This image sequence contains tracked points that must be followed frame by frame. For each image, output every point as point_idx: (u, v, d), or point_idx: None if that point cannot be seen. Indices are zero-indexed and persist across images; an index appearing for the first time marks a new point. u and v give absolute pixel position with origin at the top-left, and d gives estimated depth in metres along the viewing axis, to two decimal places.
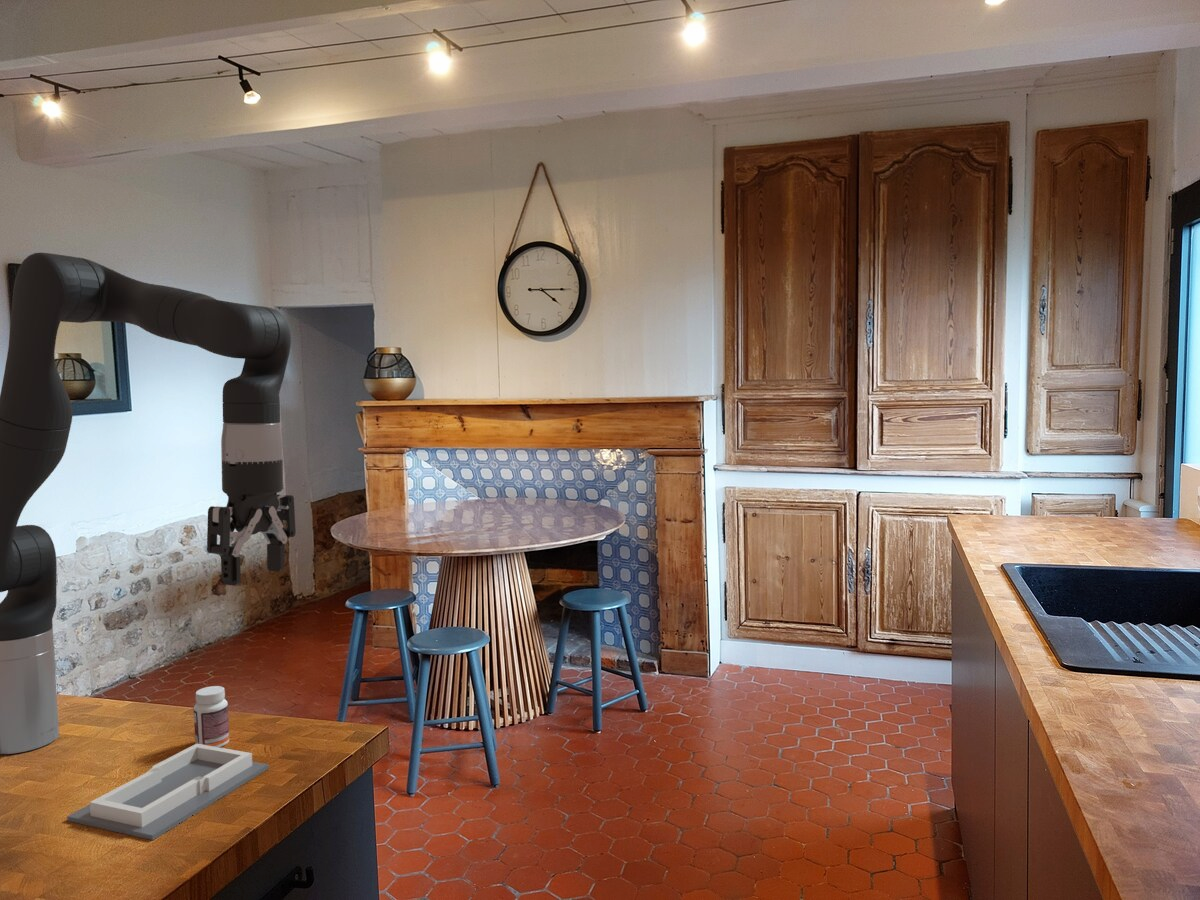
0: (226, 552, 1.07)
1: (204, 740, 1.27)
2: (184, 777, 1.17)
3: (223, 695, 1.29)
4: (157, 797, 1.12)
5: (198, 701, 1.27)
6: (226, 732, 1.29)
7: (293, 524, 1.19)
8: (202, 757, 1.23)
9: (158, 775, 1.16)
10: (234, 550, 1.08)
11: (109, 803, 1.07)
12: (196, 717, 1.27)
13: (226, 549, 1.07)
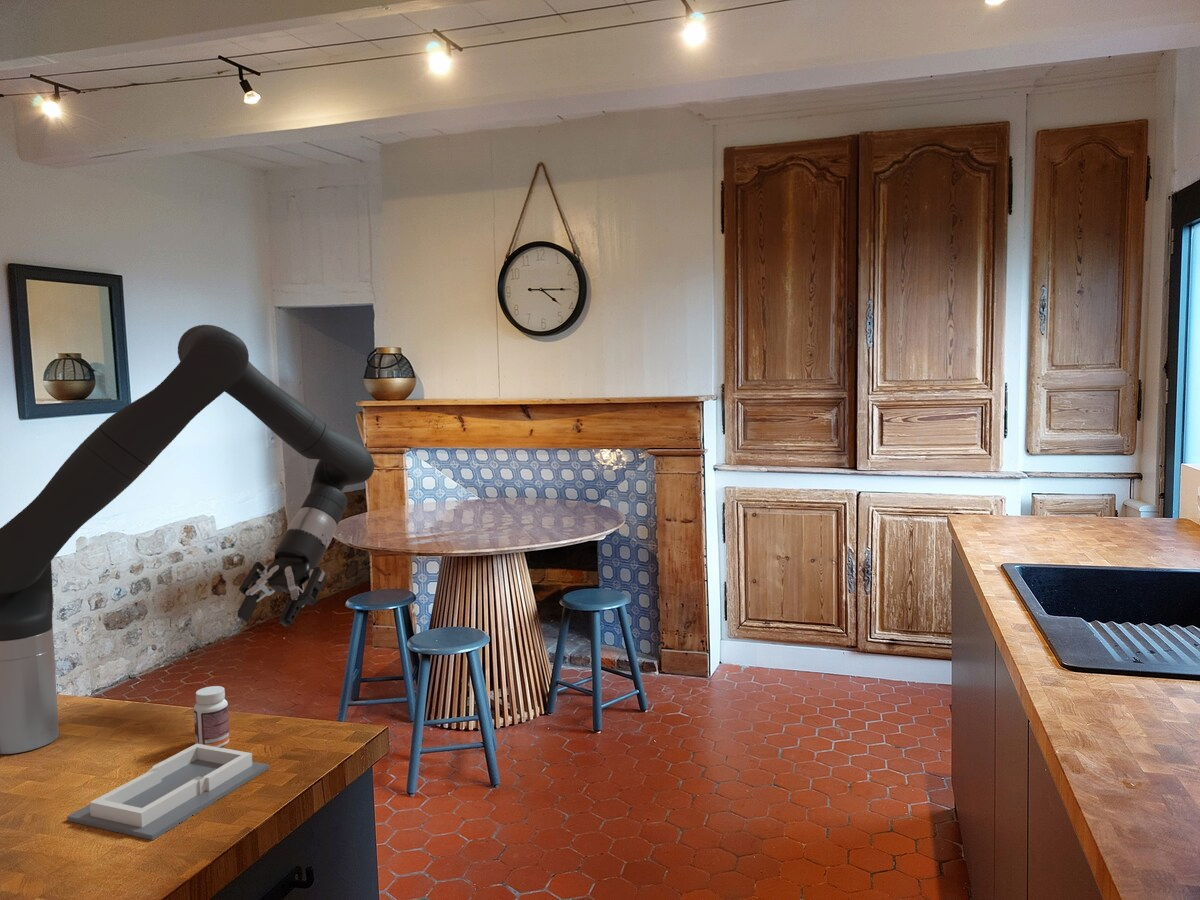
0: None
1: (204, 740, 1.27)
2: (184, 777, 1.17)
3: (223, 695, 1.29)
4: (157, 797, 1.12)
5: (198, 701, 1.27)
6: (226, 732, 1.29)
7: None
8: (202, 757, 1.23)
9: (158, 775, 1.16)
10: None
11: (109, 803, 1.07)
12: (196, 717, 1.27)
13: None
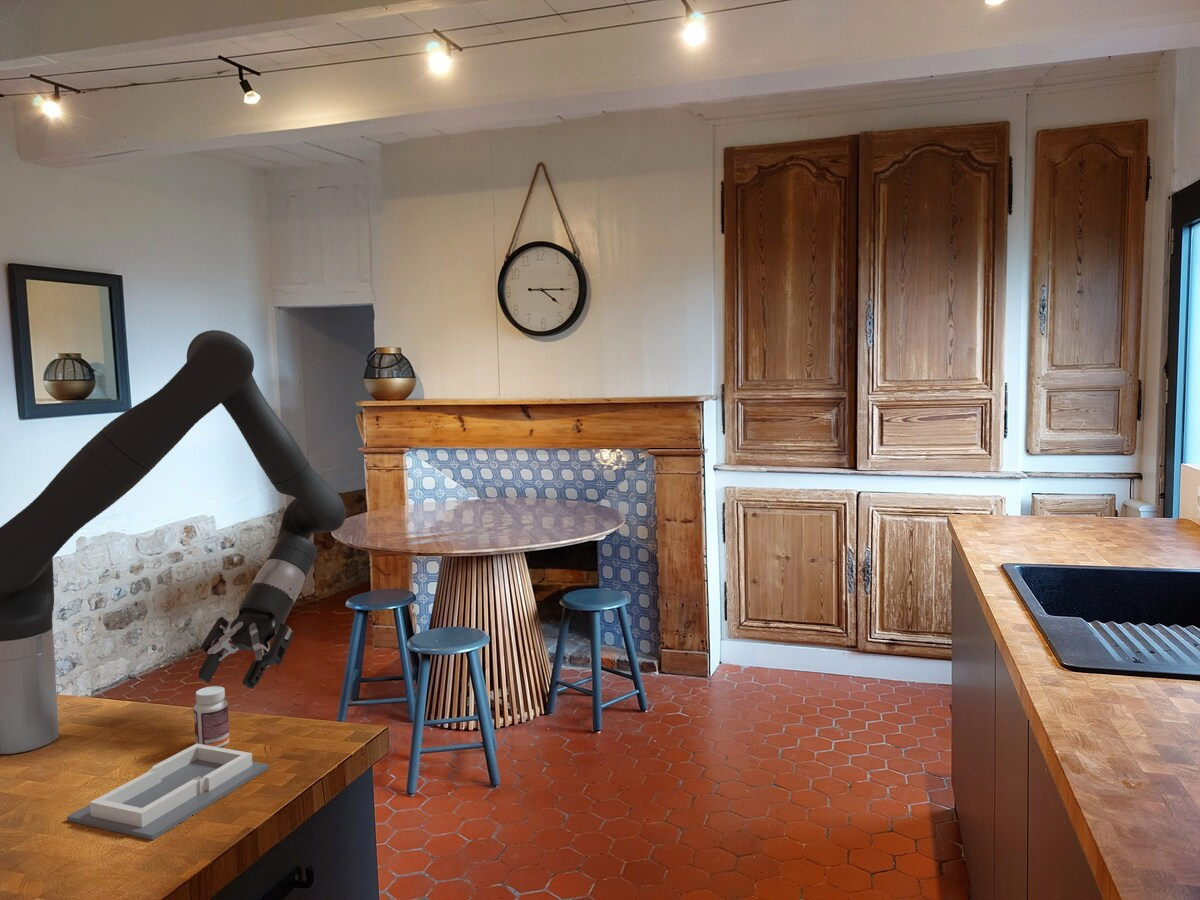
0: None
1: (204, 740, 1.27)
2: (184, 777, 1.17)
3: (223, 695, 1.29)
4: (157, 797, 1.12)
5: (198, 701, 1.27)
6: (226, 732, 1.29)
7: None
8: (202, 757, 1.23)
9: (158, 775, 1.16)
10: None
11: (109, 803, 1.07)
12: (196, 717, 1.27)
13: None
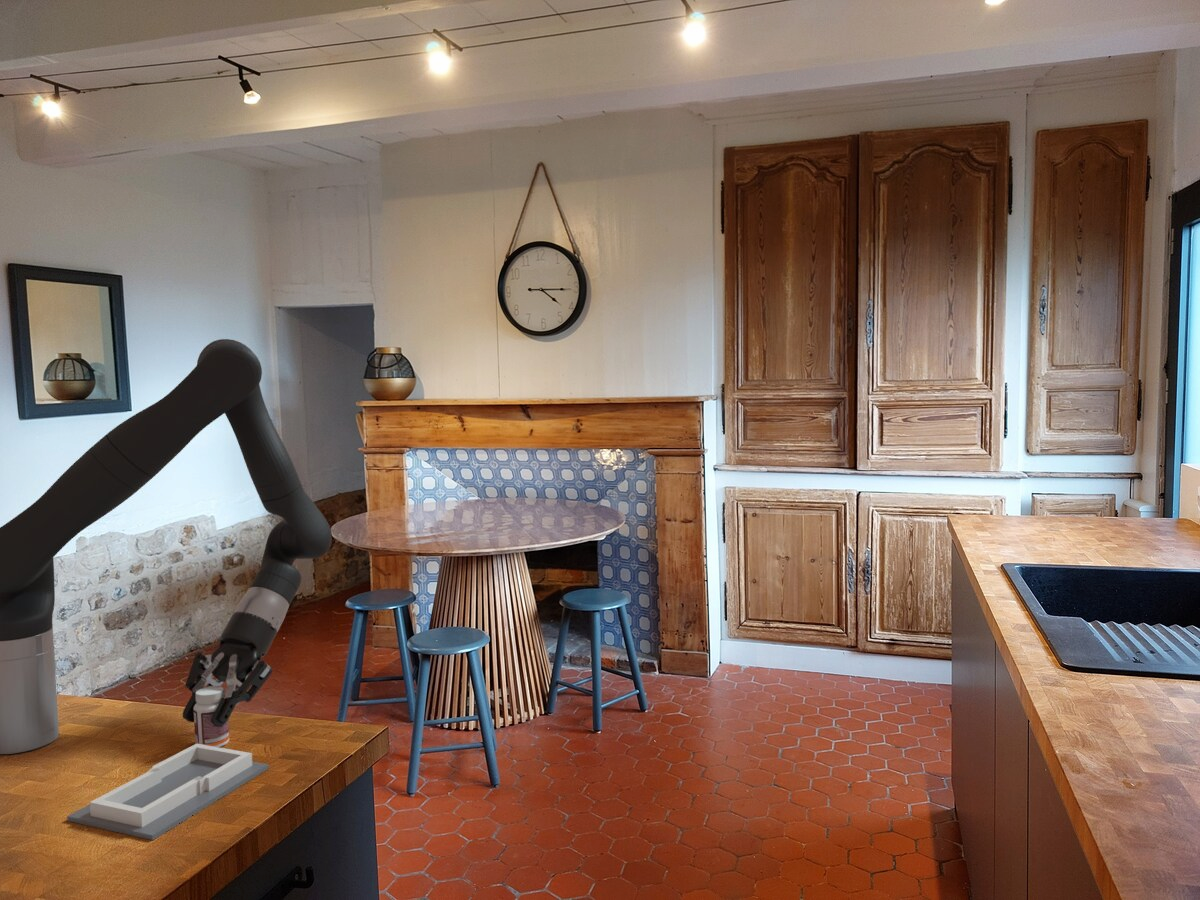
0: None
1: (203, 740, 1.27)
2: (184, 777, 1.17)
3: (223, 695, 1.29)
4: (157, 797, 1.12)
5: (198, 701, 1.27)
6: (226, 732, 1.29)
7: None
8: (202, 757, 1.23)
9: (158, 775, 1.16)
10: None
11: (109, 803, 1.07)
12: (196, 717, 1.27)
13: None
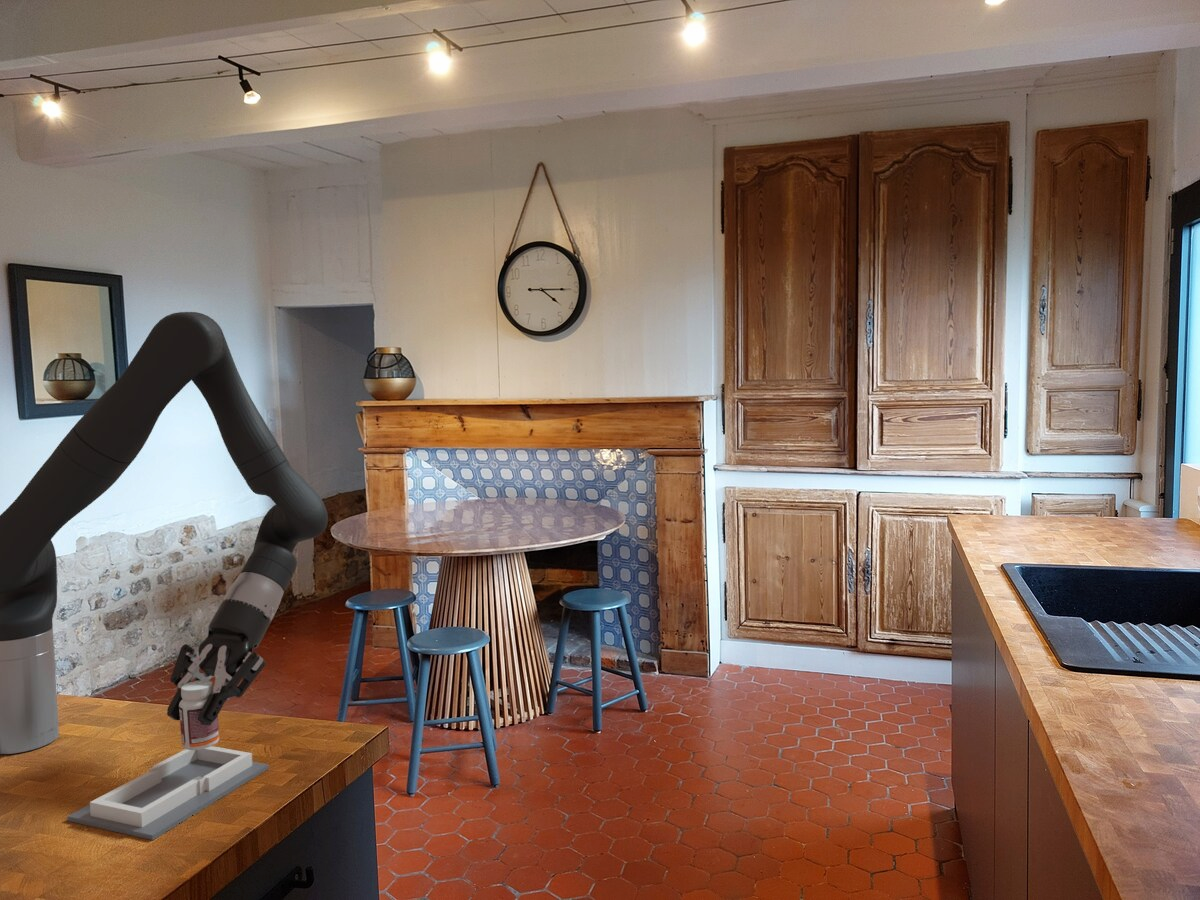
0: None
1: (190, 739, 1.16)
2: (184, 777, 1.17)
3: (211, 690, 1.17)
4: (157, 797, 1.12)
5: (184, 697, 1.16)
6: (215, 731, 1.18)
7: None
8: (202, 757, 1.23)
9: (158, 775, 1.16)
10: None
11: (109, 803, 1.07)
12: (182, 714, 1.16)
13: None
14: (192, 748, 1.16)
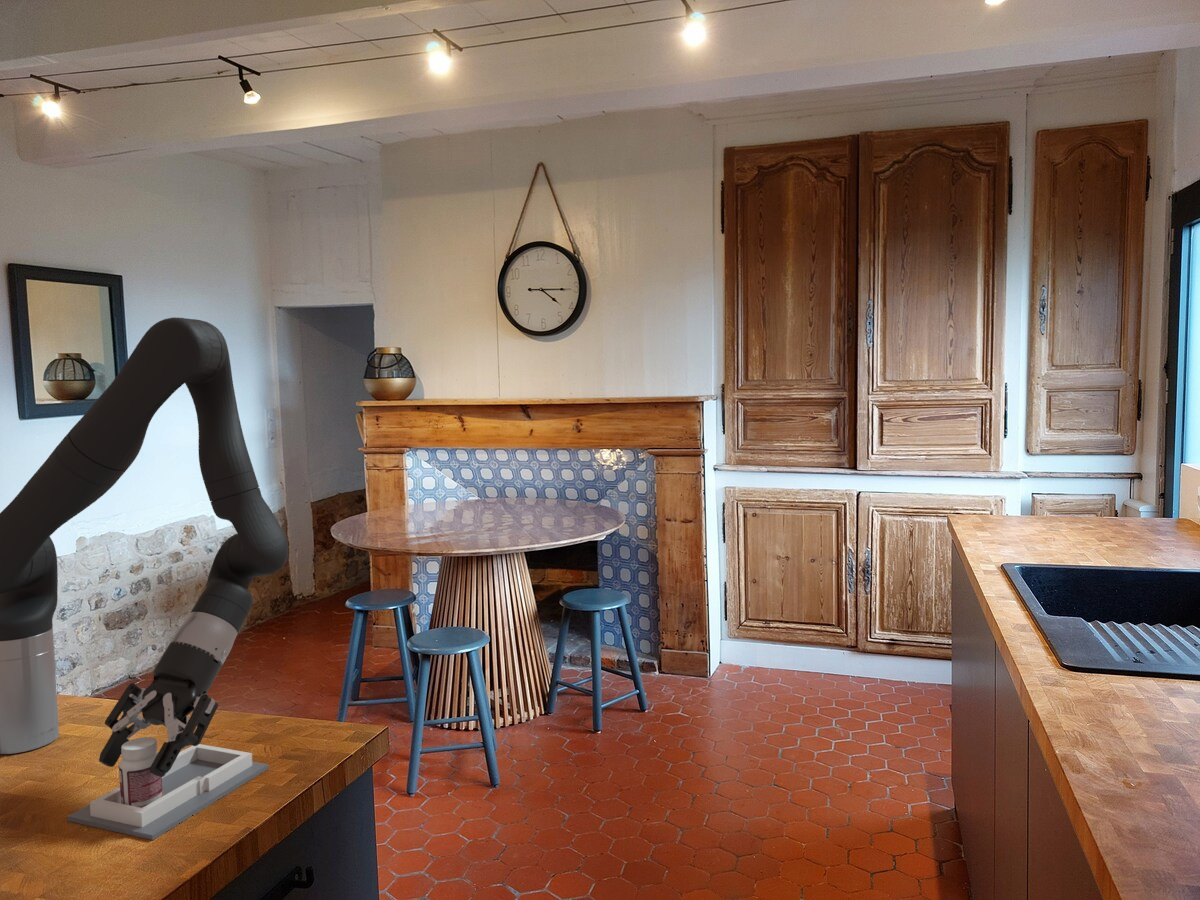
0: None
1: (130, 803, 1.07)
2: (184, 777, 1.17)
3: (155, 749, 1.09)
4: None
5: (124, 757, 1.07)
6: (158, 793, 1.09)
7: None
8: (202, 757, 1.23)
9: None
10: None
11: (109, 803, 1.07)
12: (121, 776, 1.07)
13: None
14: None
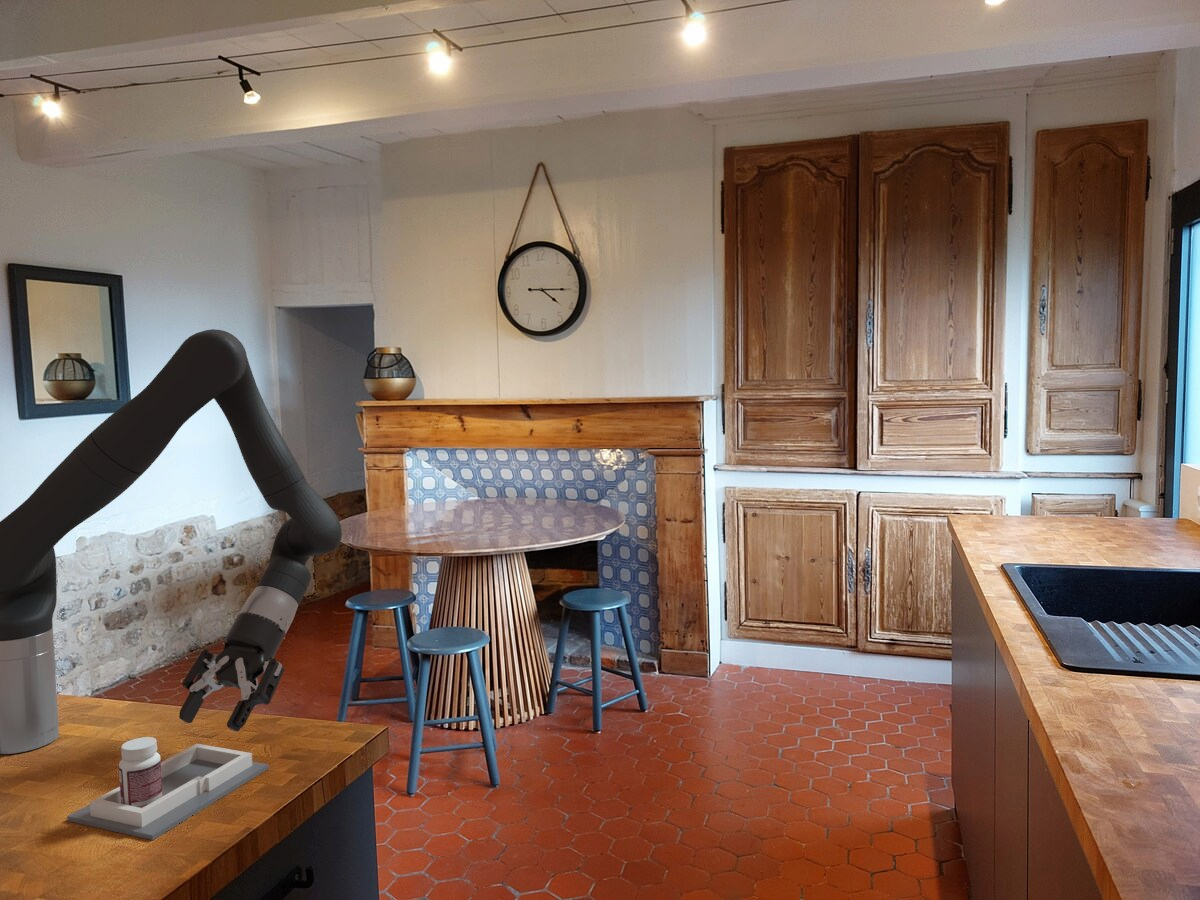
0: None
1: (130, 803, 1.07)
2: (184, 777, 1.17)
3: (154, 749, 1.09)
4: None
5: (124, 757, 1.07)
6: (158, 793, 1.09)
7: None
8: (202, 757, 1.23)
9: None
10: None
11: (109, 803, 1.07)
12: (121, 776, 1.07)
13: None
14: None
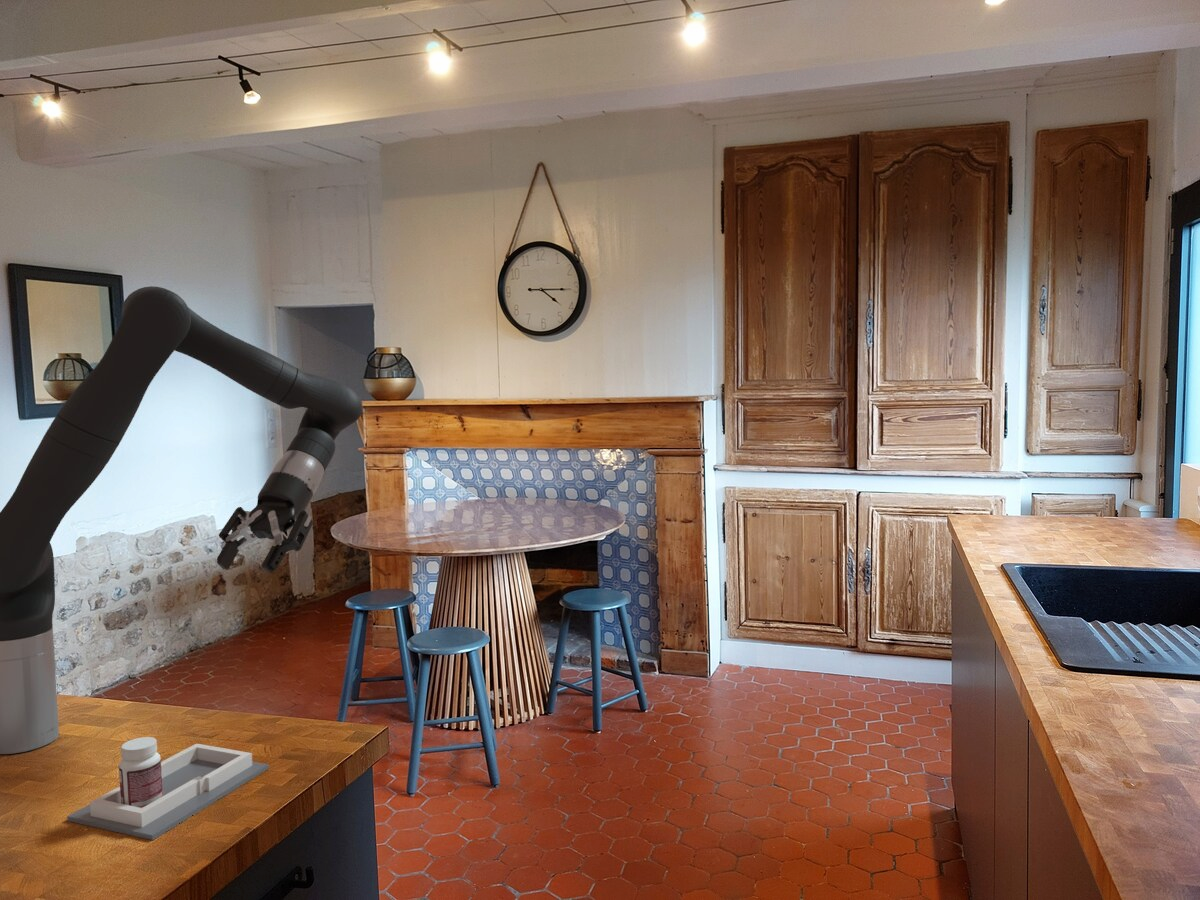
0: None
1: (130, 803, 1.07)
2: (184, 777, 1.17)
3: (154, 749, 1.09)
4: None
5: (124, 757, 1.07)
6: (158, 793, 1.09)
7: None
8: (202, 757, 1.23)
9: None
10: None
11: (109, 803, 1.07)
12: (121, 776, 1.07)
13: None
14: None
